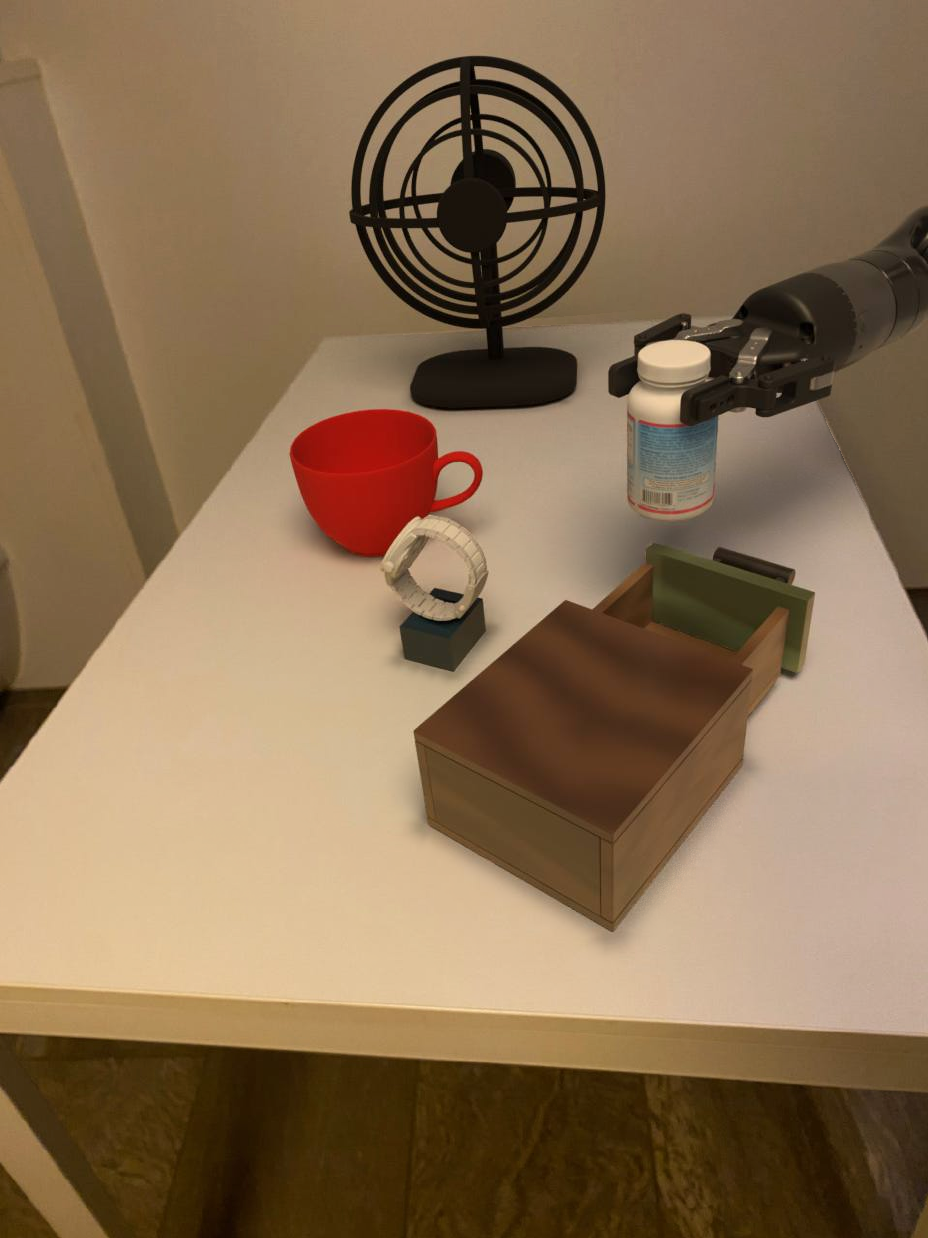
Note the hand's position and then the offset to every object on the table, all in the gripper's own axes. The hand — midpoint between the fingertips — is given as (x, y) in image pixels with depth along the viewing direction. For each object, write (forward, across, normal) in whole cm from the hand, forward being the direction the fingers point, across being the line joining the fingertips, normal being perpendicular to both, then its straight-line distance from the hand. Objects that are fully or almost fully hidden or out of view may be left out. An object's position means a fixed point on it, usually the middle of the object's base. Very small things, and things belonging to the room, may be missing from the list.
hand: (647, 395), depth 63 cm
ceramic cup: (+6, +26, -20) cm, 33 cm away
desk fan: (-21, +47, -20) cm, 56 cm away
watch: (+12, +10, -20) cm, 25 cm away
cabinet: (+14, -10, -20) cm, 26 cm away
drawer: (+1, -6, -19) cm, 20 cm away
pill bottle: (-2, 0, -9) cm, 10 cm away
